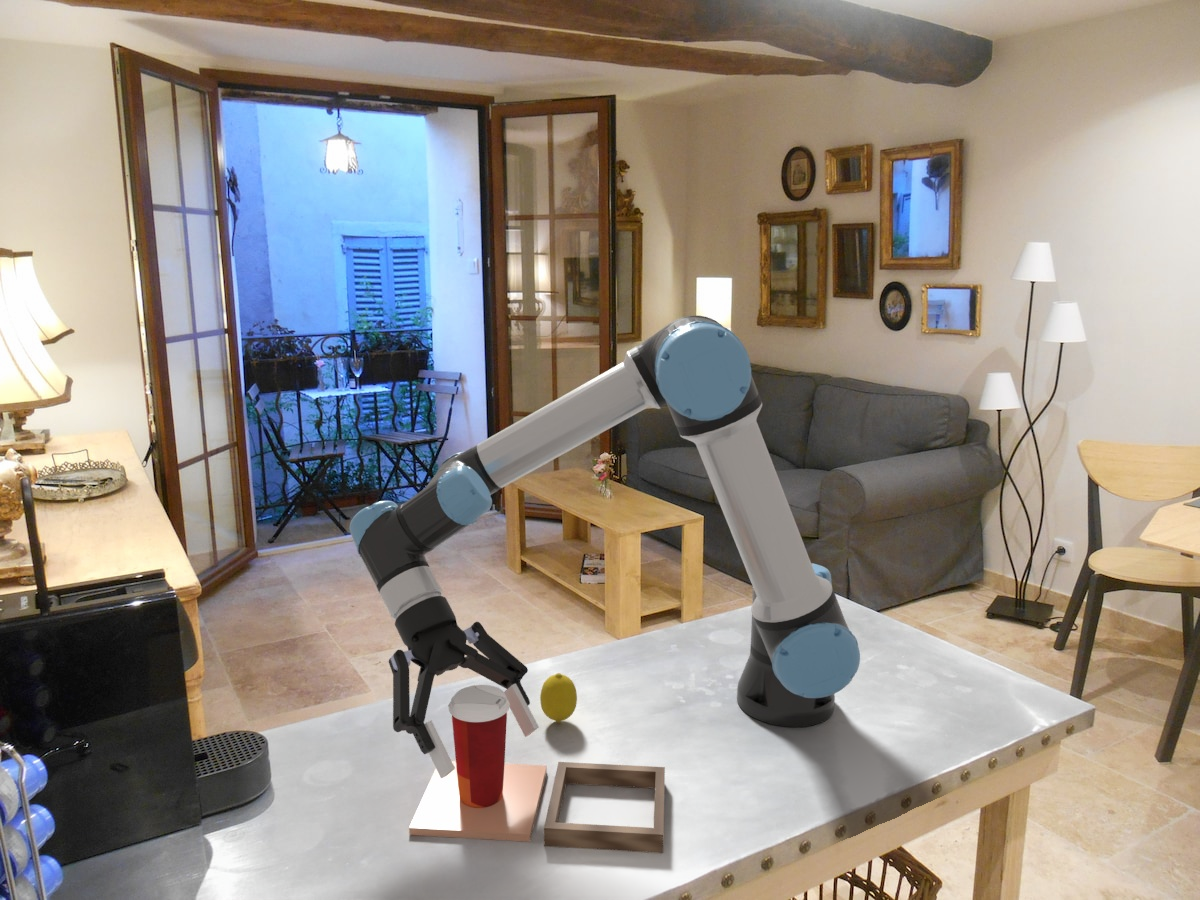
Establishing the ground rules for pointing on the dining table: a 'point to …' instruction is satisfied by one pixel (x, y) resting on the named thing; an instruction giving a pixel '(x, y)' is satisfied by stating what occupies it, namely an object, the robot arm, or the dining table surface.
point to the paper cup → (479, 743)
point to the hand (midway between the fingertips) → (492, 752)
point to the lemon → (558, 697)
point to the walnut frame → (605, 834)
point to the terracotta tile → (495, 822)
